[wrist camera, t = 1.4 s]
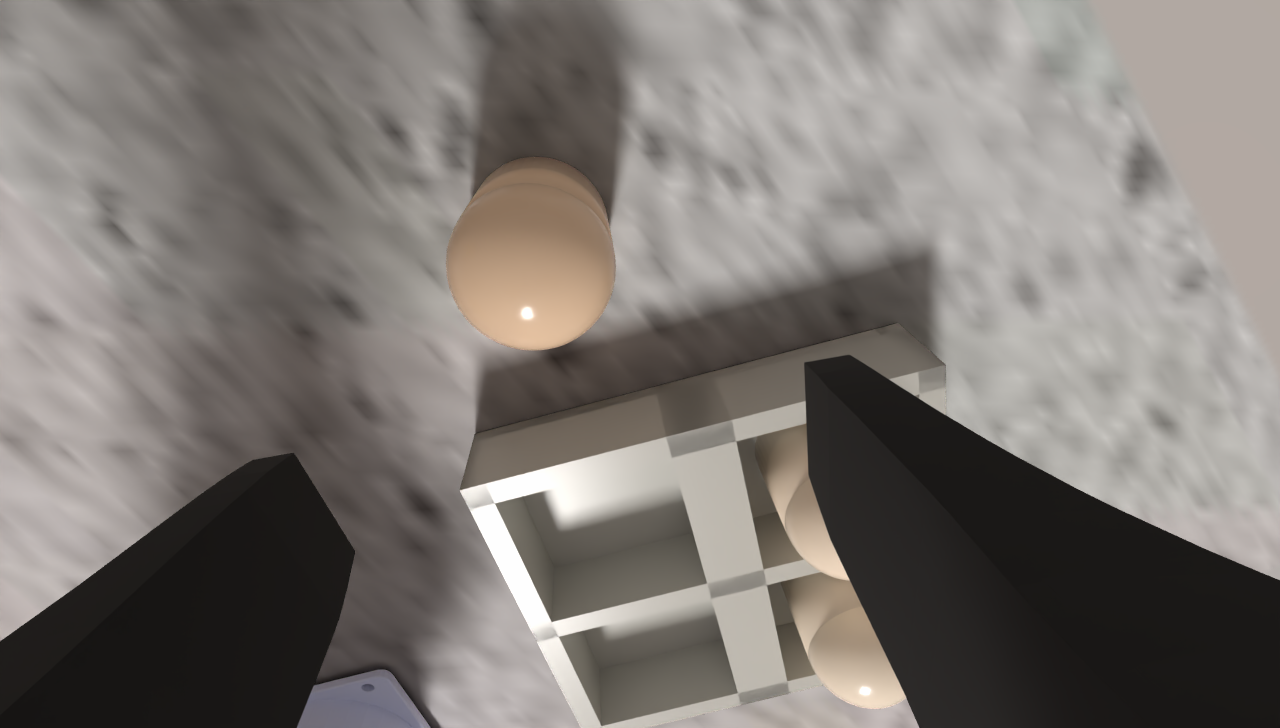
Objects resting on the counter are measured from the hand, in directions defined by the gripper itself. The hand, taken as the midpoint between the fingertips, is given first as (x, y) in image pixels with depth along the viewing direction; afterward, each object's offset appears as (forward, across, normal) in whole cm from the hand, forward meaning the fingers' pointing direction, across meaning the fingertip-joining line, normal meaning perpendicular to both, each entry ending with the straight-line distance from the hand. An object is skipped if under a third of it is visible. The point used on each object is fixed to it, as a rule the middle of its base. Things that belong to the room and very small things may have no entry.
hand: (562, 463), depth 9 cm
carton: (+10, -3, +13) cm, 16 cm away
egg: (+11, +1, 0) cm, 11 cm away
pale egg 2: (+10, -7, +16) cm, 20 cm away
